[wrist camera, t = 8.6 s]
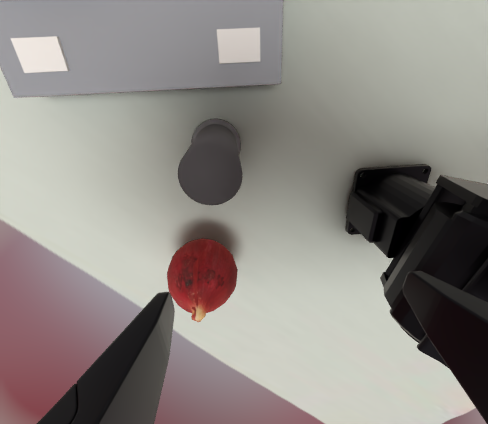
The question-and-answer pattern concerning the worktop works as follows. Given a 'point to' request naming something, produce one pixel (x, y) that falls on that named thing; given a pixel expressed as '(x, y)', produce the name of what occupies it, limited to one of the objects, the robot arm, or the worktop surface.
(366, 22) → the worktop surface
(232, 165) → the cable post
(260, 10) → the panel
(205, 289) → the onion
